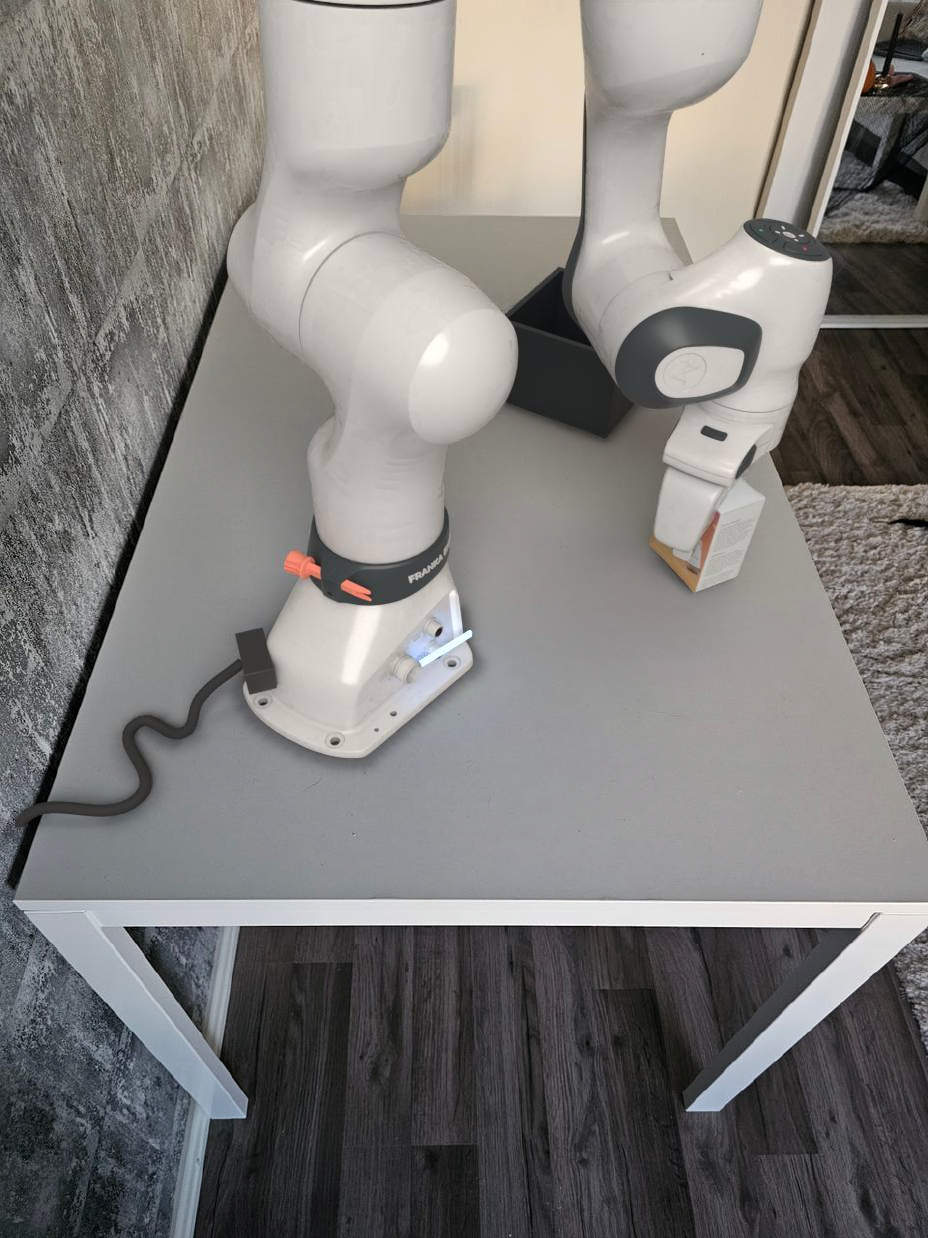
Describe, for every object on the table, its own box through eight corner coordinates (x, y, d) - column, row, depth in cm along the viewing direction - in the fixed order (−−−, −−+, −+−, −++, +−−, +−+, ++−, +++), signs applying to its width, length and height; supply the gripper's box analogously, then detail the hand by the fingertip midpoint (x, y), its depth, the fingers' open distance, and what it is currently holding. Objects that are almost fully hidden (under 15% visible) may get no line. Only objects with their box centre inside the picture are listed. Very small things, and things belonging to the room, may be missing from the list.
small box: (647, 545, 95) (667, 464, 87) (690, 530, 96) (714, 449, 89) (694, 595, 90) (720, 513, 82) (738, 578, 92) (768, 497, 84)
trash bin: (605, 438, 110) (618, 359, 102) (494, 397, 115) (497, 319, 107) (657, 376, 119) (672, 299, 111) (551, 342, 124) (558, 266, 116)
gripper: (744, 350, 87) (710, 465, 97) (655, 456, 75) (627, 575, 85) (807, 371, 85) (766, 487, 95) (727, 483, 73) (689, 603, 83)
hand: (700, 530), depth 90 cm, fingers closed on small box, 7 cm apart
